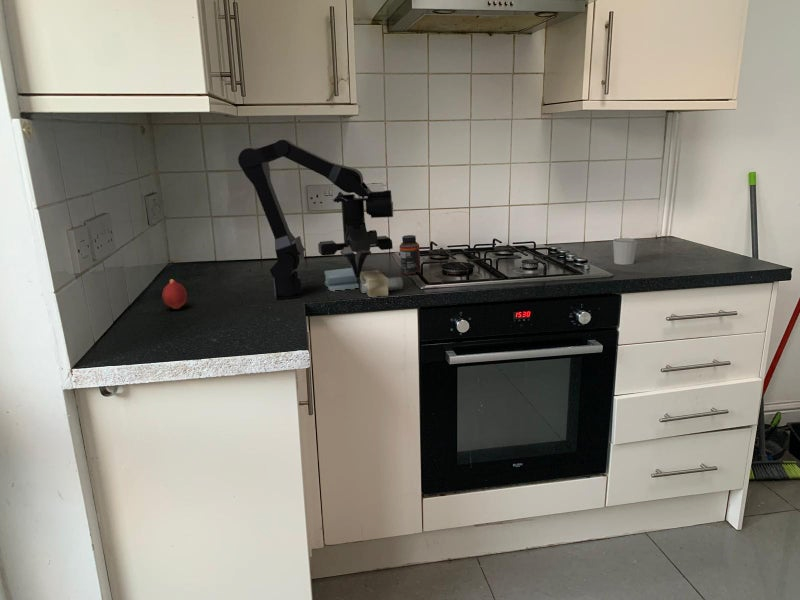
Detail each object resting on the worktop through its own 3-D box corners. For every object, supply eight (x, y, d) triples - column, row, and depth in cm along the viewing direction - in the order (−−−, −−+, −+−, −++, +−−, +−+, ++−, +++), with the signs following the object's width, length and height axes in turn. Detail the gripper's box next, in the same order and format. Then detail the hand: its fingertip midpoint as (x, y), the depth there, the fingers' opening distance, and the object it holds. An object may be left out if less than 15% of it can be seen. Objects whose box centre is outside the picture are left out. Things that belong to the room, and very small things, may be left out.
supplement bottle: (416, 270, 182) (414, 233, 178) (423, 273, 176) (422, 236, 173) (397, 272, 180) (396, 235, 176) (405, 276, 174) (403, 238, 171)
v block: (330, 291, 160) (329, 276, 159) (324, 284, 169) (323, 269, 168) (358, 288, 162) (357, 273, 161) (352, 281, 171) (351, 266, 170)
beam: (369, 297, 153) (368, 280, 151) (360, 288, 162) (359, 271, 161) (388, 295, 154) (387, 278, 153) (378, 286, 164) (377, 270, 162)
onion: (175, 305, 153) (171, 275, 151) (193, 307, 151) (189, 276, 149) (159, 312, 148) (154, 281, 146) (177, 313, 146) (173, 282, 144)
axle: (363, 293, 156) (362, 280, 156) (361, 294, 159) (359, 281, 159) (403, 289, 158) (402, 276, 158) (400, 289, 162) (398, 277, 162)
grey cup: (613, 265, 176) (615, 241, 175) (610, 260, 183) (611, 237, 181) (638, 264, 175) (639, 241, 173) (633, 260, 182) (634, 237, 180)
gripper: (322, 225, 142) (327, 288, 146) (397, 219, 146) (399, 280, 151) (315, 220, 152) (320, 278, 156) (385, 214, 157) (388, 271, 161)
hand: (357, 277), depth 156 cm, fingers closed
